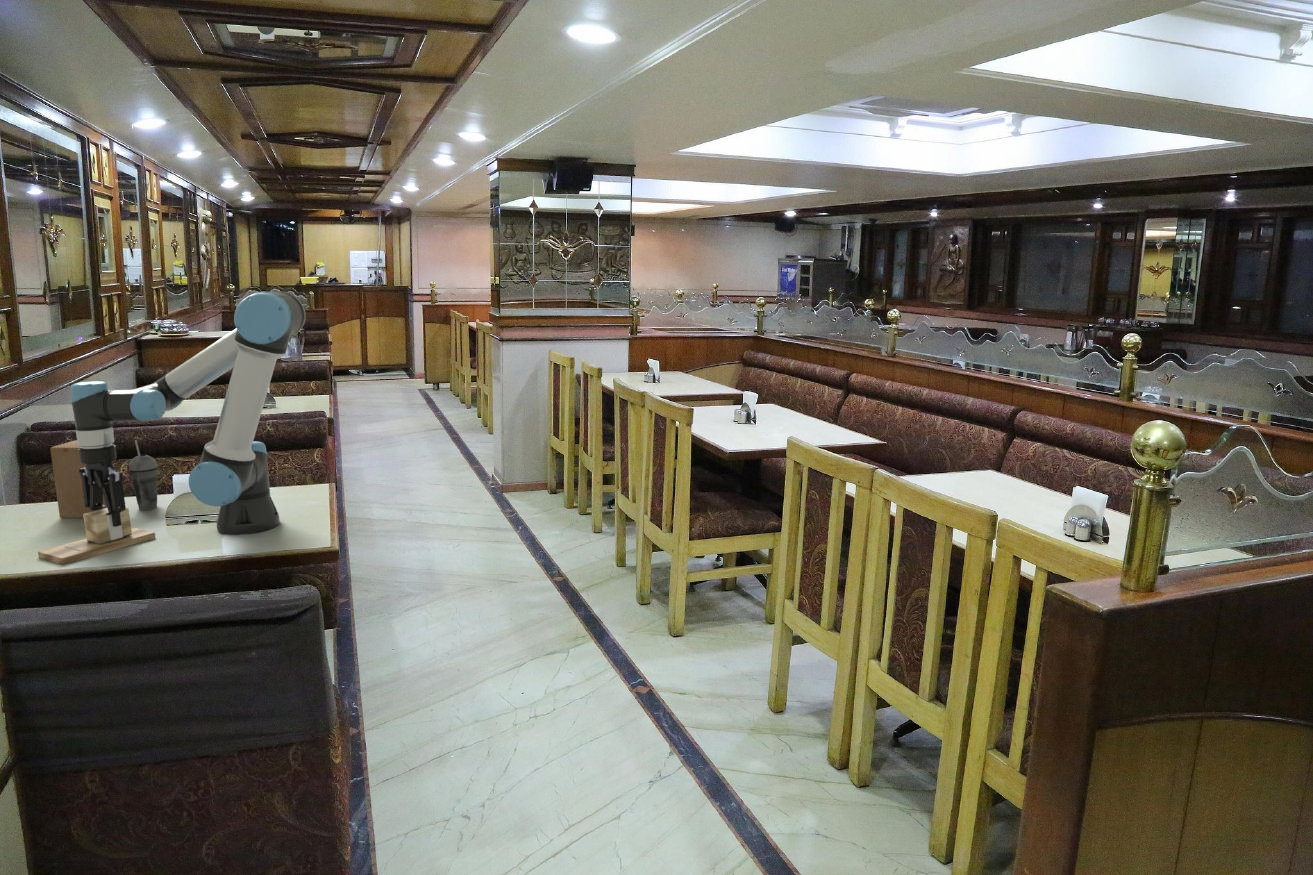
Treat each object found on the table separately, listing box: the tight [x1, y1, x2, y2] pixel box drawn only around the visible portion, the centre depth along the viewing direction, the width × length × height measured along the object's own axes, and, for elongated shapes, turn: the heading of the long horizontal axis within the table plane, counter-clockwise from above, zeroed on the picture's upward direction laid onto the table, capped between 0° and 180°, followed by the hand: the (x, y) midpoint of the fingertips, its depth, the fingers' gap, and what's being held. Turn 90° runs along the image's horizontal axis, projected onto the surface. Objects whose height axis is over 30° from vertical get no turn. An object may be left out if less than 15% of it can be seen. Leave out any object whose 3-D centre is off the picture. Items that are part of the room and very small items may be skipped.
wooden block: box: [49, 439, 109, 519], centre depth 232 cm, size 10×10×20 cm
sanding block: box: [82, 507, 132, 544], centre depth 207 cm, size 5×8×7 cm, turn 153°
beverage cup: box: [128, 440, 159, 511], centre depth 238 cm, size 7×7×20 cm
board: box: [37, 526, 156, 565], centre depth 206 cm, size 10×22×2 cm, turn 153°
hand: (109, 536), depth 208 cm, fingers closed on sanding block, 5 cm apart
